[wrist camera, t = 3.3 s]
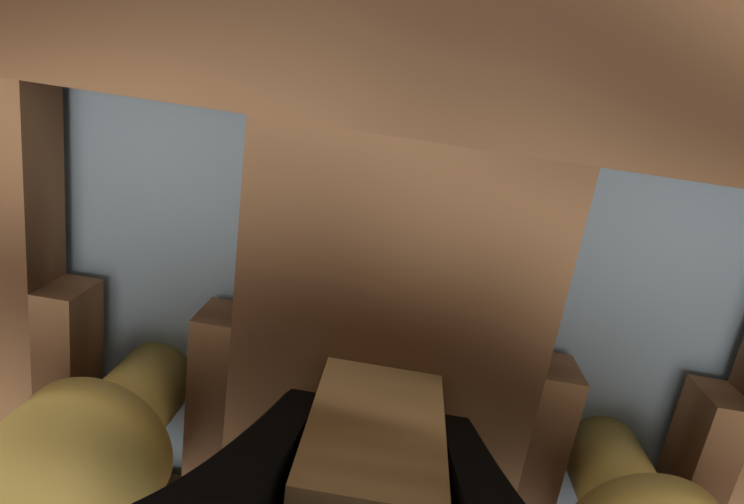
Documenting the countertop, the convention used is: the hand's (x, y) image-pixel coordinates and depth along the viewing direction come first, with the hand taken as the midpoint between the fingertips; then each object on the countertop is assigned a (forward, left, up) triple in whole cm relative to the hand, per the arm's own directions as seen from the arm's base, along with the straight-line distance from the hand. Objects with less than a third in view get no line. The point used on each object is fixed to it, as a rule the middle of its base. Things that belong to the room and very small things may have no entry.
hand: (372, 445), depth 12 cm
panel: (+2, 0, -2) cm, 3 cm away
